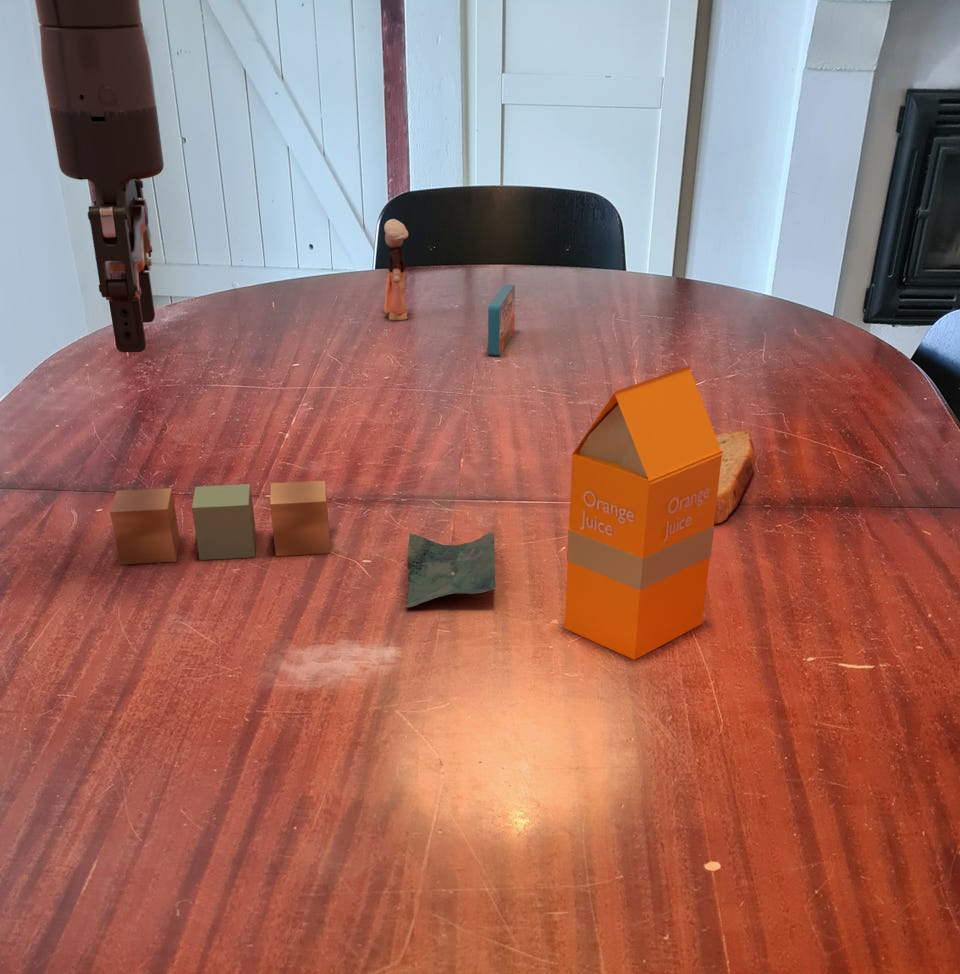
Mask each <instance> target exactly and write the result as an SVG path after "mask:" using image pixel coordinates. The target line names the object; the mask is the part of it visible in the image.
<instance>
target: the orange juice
mask: <svg viewBox="0 0 960 974" xmlns="http://www.w3.org/2000/svg"><path fill="white" fill-rule="evenodd" d="M690 367H691V365H687V366H685V367H682V368H679V369H676V370H673V371H670V372H667V373H665V374H662V375H658V376H656V377H652V378H650V379H647V380H644V381H642V382H638V383H635V384H633V385H629V386H627V387H624V388H621V389H618V390H615V391H614V392H613V394H612V395H611V397H610V398H609V400H608V401H607V403H606V404H605V406H604V407H603V409H602V410H601V412H600V413H599V415H597V417H596V418H595V420H594V422H593V423H592V425H591V426H590V427H589V429H588V431H586V433H585V435H584V436H583V438H582V439H581V441H580V442H579V444H578V445H577V446H576V448H575V449H574V451H573V452H572V454H571V475H570V496H569V518H568V519H569V520H568V522H569V523H568V529H567V546H566V561H567V565H566V586H565V587H566V589H565V608H564V609H565V612H564V629H566V630H568V631H569V632H571V633H574V634H576V635H578V636H580V637H583V638H585V639H587V640H589V641H592V642H594V643H596V644H598V645H601V646H603V647H604V648H607V649H609V650H612V651H614V652H616V653H617V654H621V655H622V656H625V657H627V658H629V659H631V660H634V661H636V660H637V659H639V658H641V657H643V656H644V655H647V654H648V653H650V652H652V651H654V650H656V649H658V648H659V647H661V646H664V645H666V644H667V643H669V642H671V641H673V640H674V639H677V638H678V637H680V636H682V635H684V634H686V633H688V632H690V631H692V630H693V629H696V628H697V627H699V626H701V625H702V624H703V618H704V612H705V611H704V609H705V601H706V594H707V586H708V576H709V568H710V562H711V561H710V560H711V557H712V548H713V541H714V532H715V524H714V519H715V510H716V502H717V494H718V485H719V477H720V468H721V460H722V455H723V454H722V452H723V450H721V449H720V446H719V443H718V441H717V438H716V436H715V435H716V433H715V430H714V428H713V425H712V422H711V419H710V418H709V414H708V412H707V409H706V407H705V404H704V401H703V398H702V396H701V394H700V392H699V389H698V385H697V384H696V381H695V378H694V375H693V373H692V370H691V368H690Z"/></svg>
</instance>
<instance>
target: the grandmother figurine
mask: <svg viewBox="0 0 960 974" xmlns="http://www.w3.org/2000/svg"><path fill="white" fill-rule="evenodd" d="M383 227H384V228H383V229H384V233H385V234H384V241H385V243H386V245H387V246H388V247H389V249H388V274H387V279H386V286H385V293H384V306H383V307H384V308H383V312H384V313H387V314H388V320H389V321H406V320H408V318H409V316H408V315H409V312H408V310H407V309H406V307H407V303H406V302H407V299H406V294H405V293H406V292H405V285H406V260H405V254H404V250H403V248H402V247H401V246H402V245H403V243H404V240H406V239H407V238H408V237H409V231H408V230H407V227H406V226H405V224H404V223H402V222H401V221H399V220H397V219H395V218H392V219H389V220H387V221H386V222H385V223H384V226H383Z"/></svg>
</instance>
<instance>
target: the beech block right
mask: <svg viewBox="0 0 960 974" xmlns="http://www.w3.org/2000/svg"><path fill="white" fill-rule="evenodd" d="M326 486H327V485H326V480H309V481H307V480H306V481H286V482H271V483H270V491H269V492H270V494H269V495H270V497H269V506H270V517H271V525H272V526H271V527H272V535H273V543H274V552H275V557H287V556H306V555H307V556H308V555H322V554H323V555H324V554H325V555H327V554H331V552H332V551H331V537H330V536H331V535H330V523H329V509H328V498H327V497H328V496H327V487H326Z"/></svg>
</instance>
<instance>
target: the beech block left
mask: <svg viewBox="0 0 960 974" xmlns="http://www.w3.org/2000/svg"><path fill="white" fill-rule="evenodd" d="M174 499H175V498H174V493H173V488H172V487H163V488H146V489H145V488H144V489H143V488H142V489H125V490H124V489H123V490H122V489H121V490H116V491H115V494H114V497H113V499H112V500H113V501H112V504H111V508H110V511H109V515H110V520H111V525H112V529H113V530H112V531H113V536H114V540H115V545H116V550H117V551H116V552H117V555H118V561H119V565H120V566H121V565H139V564H158V563H174V562H175V563H176V562H177V558H178V553H179V547H180V541H181V537H180V531H179V524H178V518H177V512H176V505H175V500H174Z"/></svg>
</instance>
